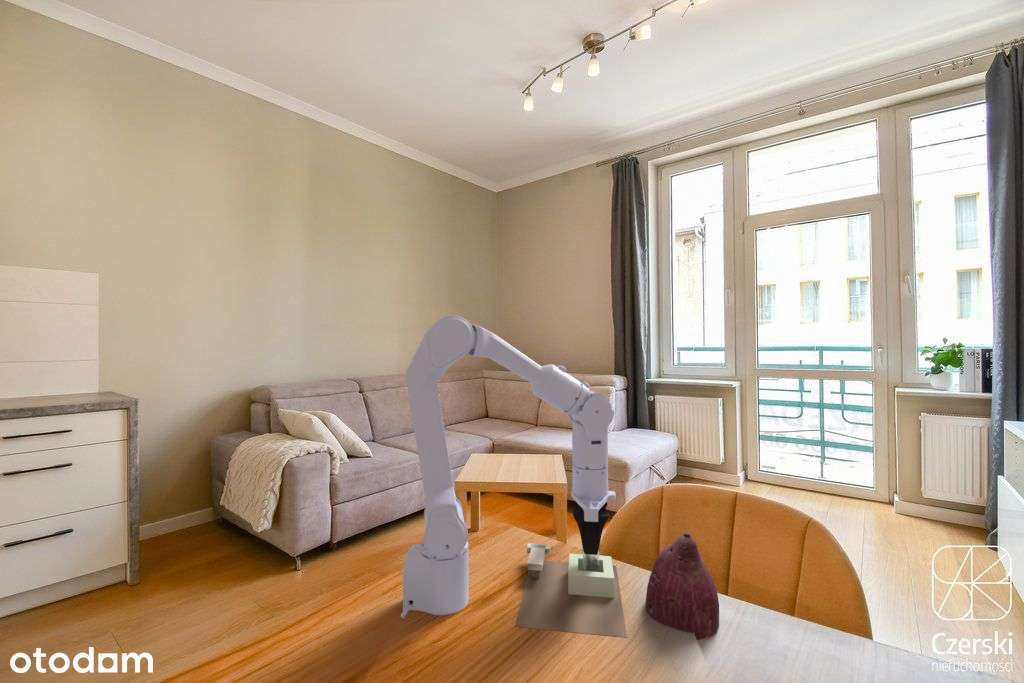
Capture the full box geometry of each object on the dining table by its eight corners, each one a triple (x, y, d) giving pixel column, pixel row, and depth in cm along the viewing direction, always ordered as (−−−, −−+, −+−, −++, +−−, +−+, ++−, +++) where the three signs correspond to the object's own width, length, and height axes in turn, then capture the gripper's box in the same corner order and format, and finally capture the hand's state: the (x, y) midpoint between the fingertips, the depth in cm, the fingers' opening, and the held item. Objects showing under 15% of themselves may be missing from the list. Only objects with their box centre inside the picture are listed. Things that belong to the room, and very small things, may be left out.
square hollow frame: (568, 594, 68) (568, 574, 68) (569, 570, 75) (569, 553, 75) (614, 597, 67) (614, 578, 67) (611, 574, 74) (611, 556, 74)
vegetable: (724, 665, 59) (748, 573, 55) (645, 644, 61) (662, 554, 57) (709, 602, 69) (728, 520, 65) (640, 586, 71) (655, 506, 67)
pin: (583, 570, 70) (583, 526, 70) (581, 562, 73) (581, 520, 73) (600, 571, 70) (599, 526, 70) (597, 562, 72) (597, 520, 72)
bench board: (511, 633, 61) (511, 604, 61) (528, 564, 79) (528, 542, 79) (627, 645, 58) (626, 614, 58) (616, 571, 77) (615, 548, 77)
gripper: (619, 479, 63) (619, 573, 63) (612, 454, 78) (612, 531, 78) (569, 477, 65) (570, 570, 64) (572, 453, 79) (572, 529, 79)
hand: (590, 548), depth 71 cm, fingers closed on pin, 3 cm apart
